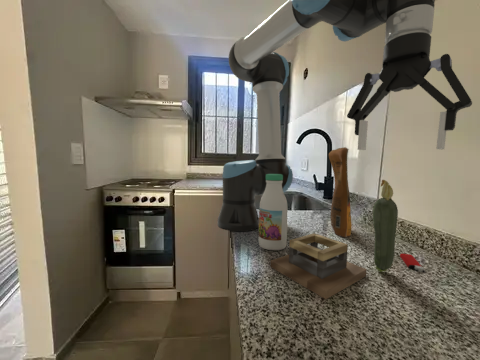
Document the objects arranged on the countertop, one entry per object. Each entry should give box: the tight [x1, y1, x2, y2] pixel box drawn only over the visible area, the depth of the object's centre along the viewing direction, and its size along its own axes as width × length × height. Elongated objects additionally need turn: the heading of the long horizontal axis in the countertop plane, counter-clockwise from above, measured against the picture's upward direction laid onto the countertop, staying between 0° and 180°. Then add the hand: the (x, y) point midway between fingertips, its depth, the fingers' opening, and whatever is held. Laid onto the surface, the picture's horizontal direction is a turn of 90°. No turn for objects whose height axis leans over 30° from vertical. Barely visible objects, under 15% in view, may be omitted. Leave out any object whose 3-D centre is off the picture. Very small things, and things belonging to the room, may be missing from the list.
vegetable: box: [372, 179, 399, 273], centre depth 47 cm, size 4×4×20 cm
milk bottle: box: [258, 174, 289, 251], centre depth 62 cm, size 8×8×20 cm
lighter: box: [399, 253, 426, 273], centre depth 53 cm, size 3×1×8 cm
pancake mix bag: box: [328, 146, 353, 238], centre depth 76 cm, size 7×19×28 cm, turn 165°
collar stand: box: [269, 232, 368, 300], centre depth 48 cm, size 14×14×6 cm
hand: (396, 149), depth 46 cm, fingers open, 13 cm apart
